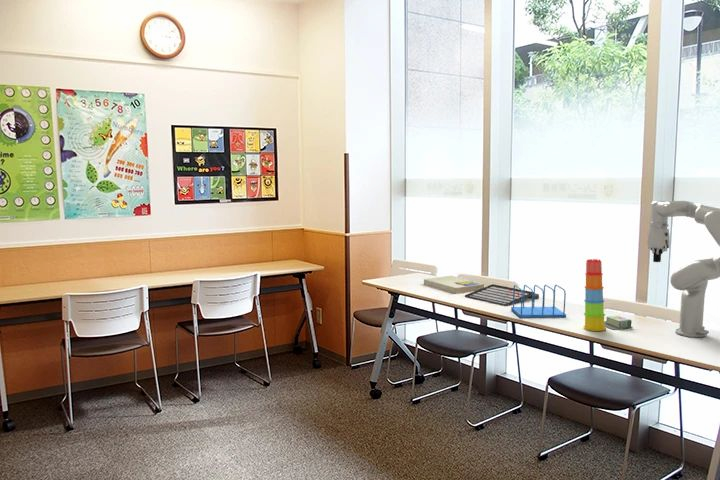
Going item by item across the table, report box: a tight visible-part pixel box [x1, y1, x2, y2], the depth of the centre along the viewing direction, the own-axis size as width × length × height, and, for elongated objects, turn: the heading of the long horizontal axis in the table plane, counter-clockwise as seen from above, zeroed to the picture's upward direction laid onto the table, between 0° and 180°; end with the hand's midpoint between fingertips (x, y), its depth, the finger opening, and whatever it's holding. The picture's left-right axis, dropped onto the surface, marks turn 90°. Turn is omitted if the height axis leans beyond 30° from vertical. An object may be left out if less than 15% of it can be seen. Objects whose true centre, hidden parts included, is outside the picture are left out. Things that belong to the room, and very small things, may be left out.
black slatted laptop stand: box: [464, 284, 540, 307], centre depth 355 cm, size 32×7×31 cm
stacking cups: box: [582, 258, 607, 332], centre depth 282 cm, size 10×10×35 cm
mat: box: [604, 323, 633, 331], centre depth 290 cm, size 13×12×1 cm
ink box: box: [604, 315, 632, 330], centre depth 290 cm, size 7×4×13 cm
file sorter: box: [510, 284, 567, 319], centre depth 314 cm, size 25×17×15 cm
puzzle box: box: [423, 275, 485, 295], centre depth 388 cm, size 36×5×24 cm
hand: (656, 261), depth 288 cm, fingers closed
